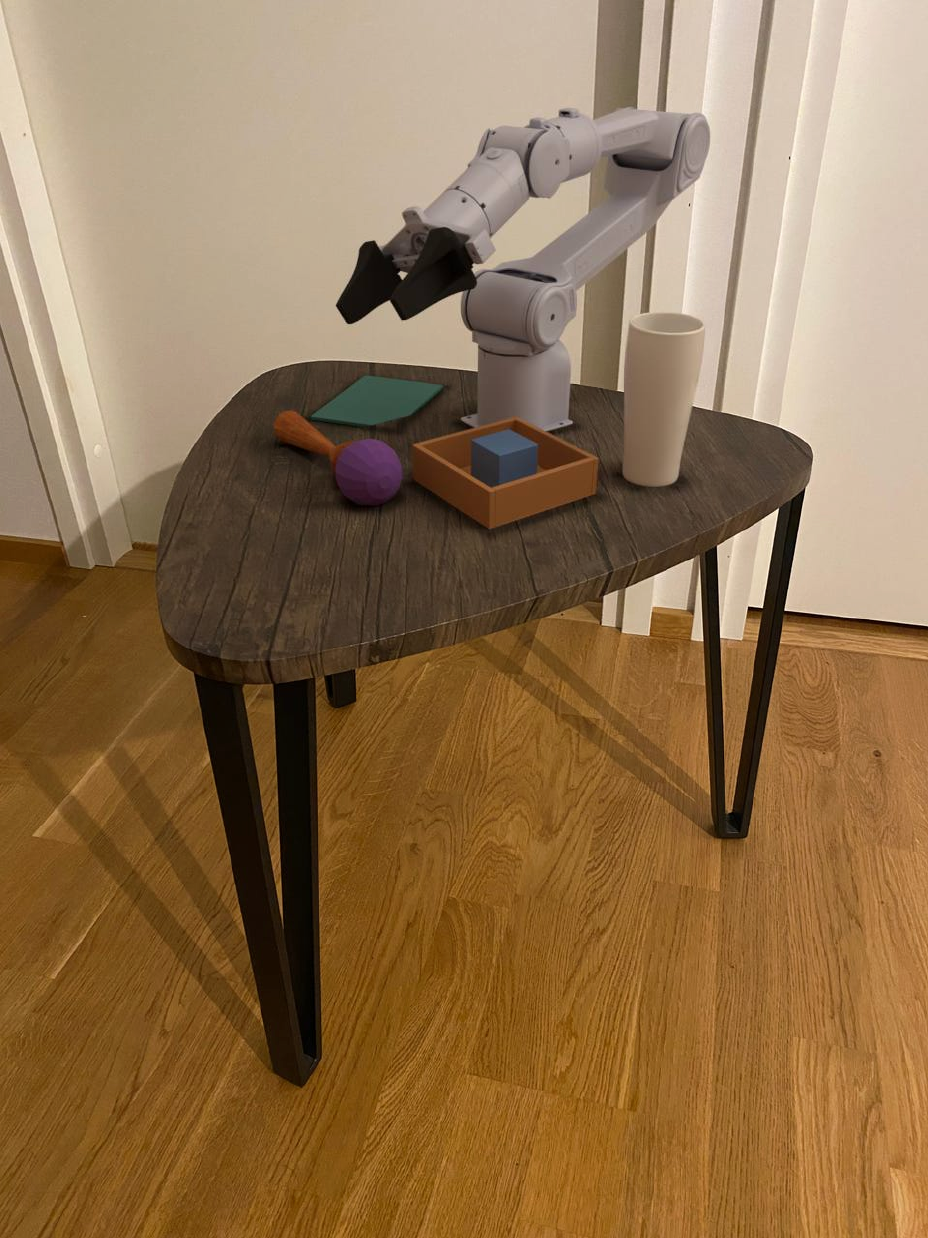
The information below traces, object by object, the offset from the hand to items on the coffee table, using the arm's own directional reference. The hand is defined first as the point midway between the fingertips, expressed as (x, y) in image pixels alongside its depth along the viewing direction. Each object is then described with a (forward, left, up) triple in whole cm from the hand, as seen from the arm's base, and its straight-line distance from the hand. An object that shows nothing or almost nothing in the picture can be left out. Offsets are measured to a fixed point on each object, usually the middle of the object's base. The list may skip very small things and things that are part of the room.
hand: (369, 312), depth 83 cm
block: (-10, +7, -16) cm, 20 cm away
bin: (-10, +7, -17) cm, 20 cm away
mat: (-12, -19, -17) cm, 28 cm away
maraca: (+2, -5, -17) cm, 18 cm away
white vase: (-23, +13, -17) cm, 31 cm away
